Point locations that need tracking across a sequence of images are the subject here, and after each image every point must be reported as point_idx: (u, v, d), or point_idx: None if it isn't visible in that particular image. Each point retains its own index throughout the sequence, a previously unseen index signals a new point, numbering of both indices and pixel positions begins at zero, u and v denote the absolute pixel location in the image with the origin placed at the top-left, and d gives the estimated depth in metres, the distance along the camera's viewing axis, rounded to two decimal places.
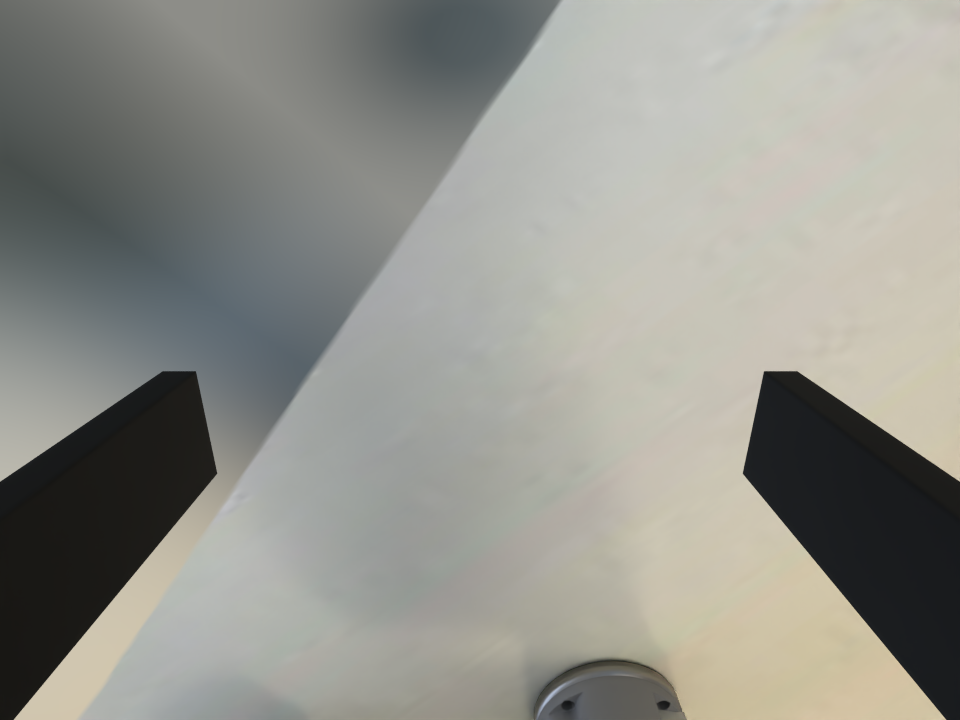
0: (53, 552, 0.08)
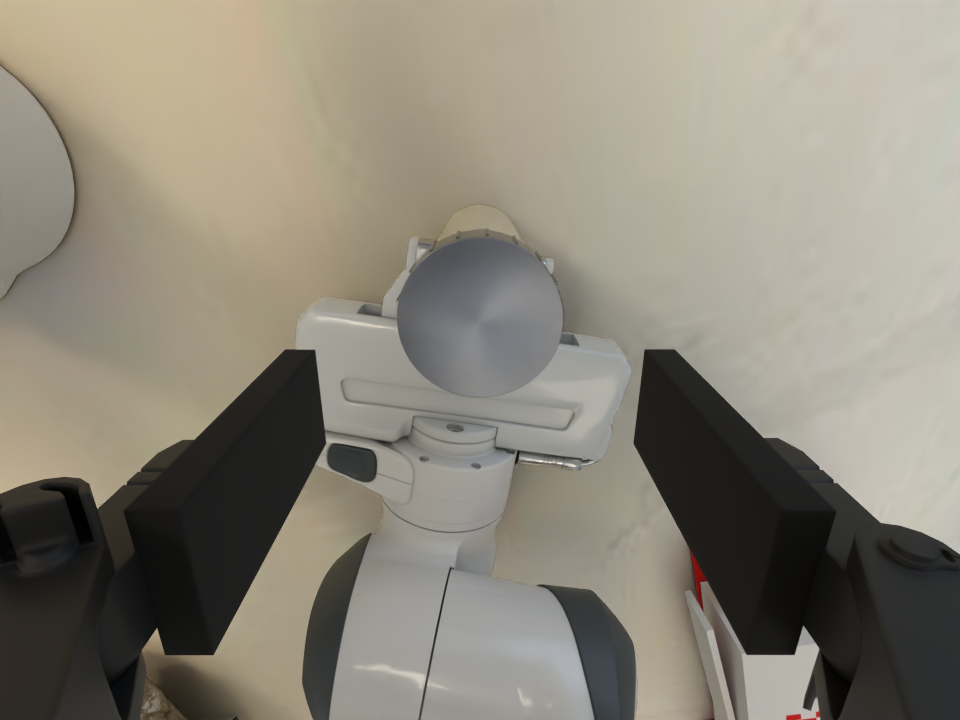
0: (244, 495, 0.09)
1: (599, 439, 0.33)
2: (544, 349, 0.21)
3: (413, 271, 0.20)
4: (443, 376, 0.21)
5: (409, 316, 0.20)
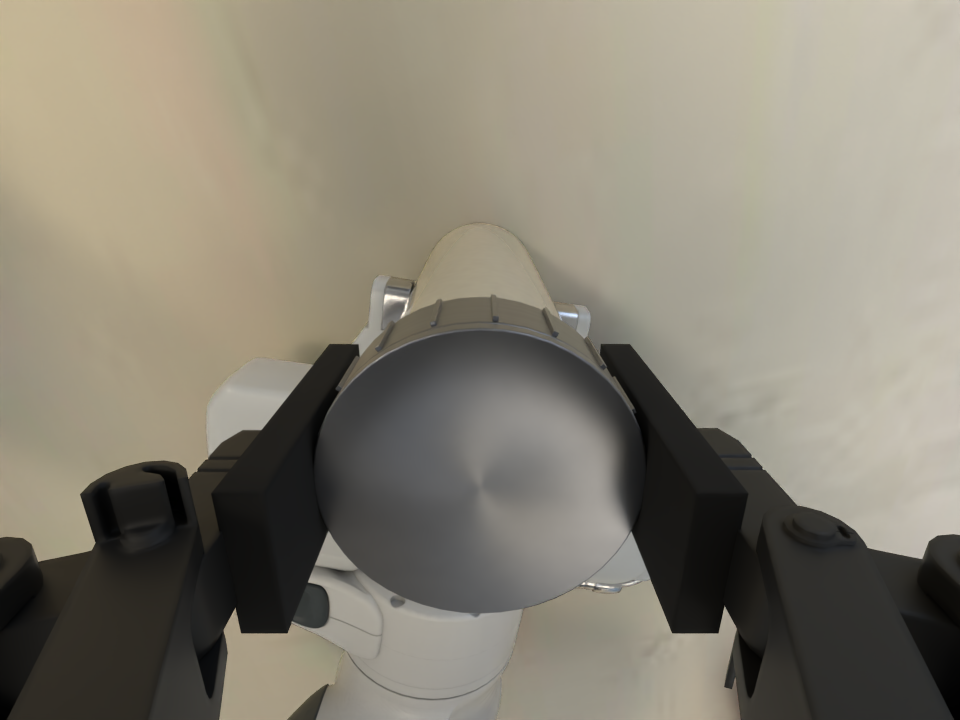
0: (309, 481, 0.10)
1: None
2: (605, 534, 0.10)
3: (342, 394, 0.09)
4: (409, 580, 0.11)
5: (338, 477, 0.10)
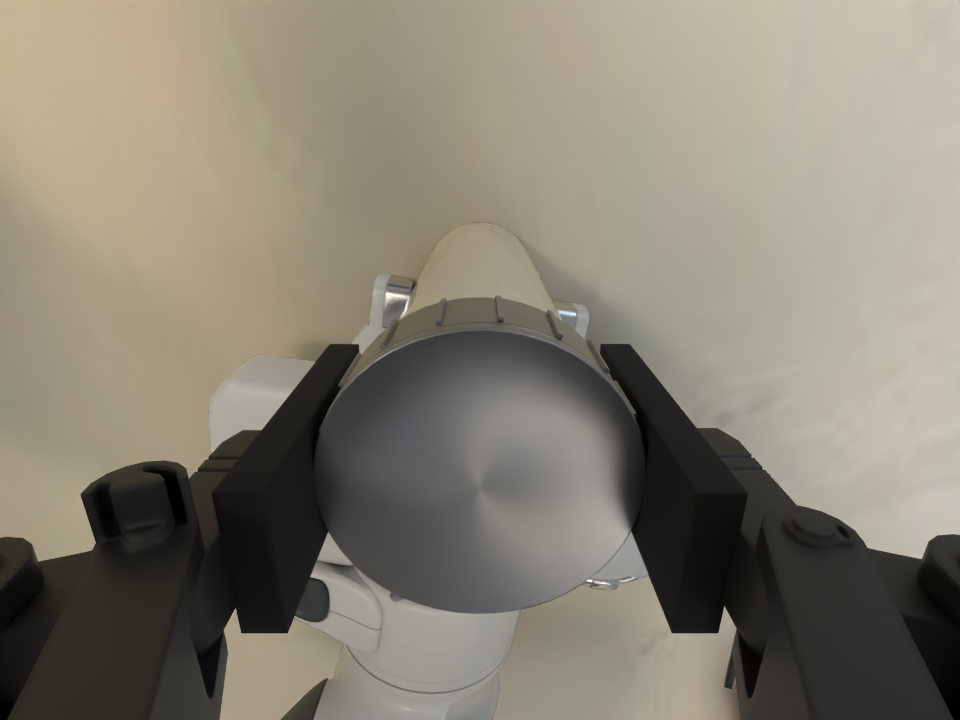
0: (309, 481, 0.10)
1: None
2: (467, 353, 0.09)
3: (454, 609, 0.11)
4: (618, 498, 0.10)
5: (531, 589, 0.11)
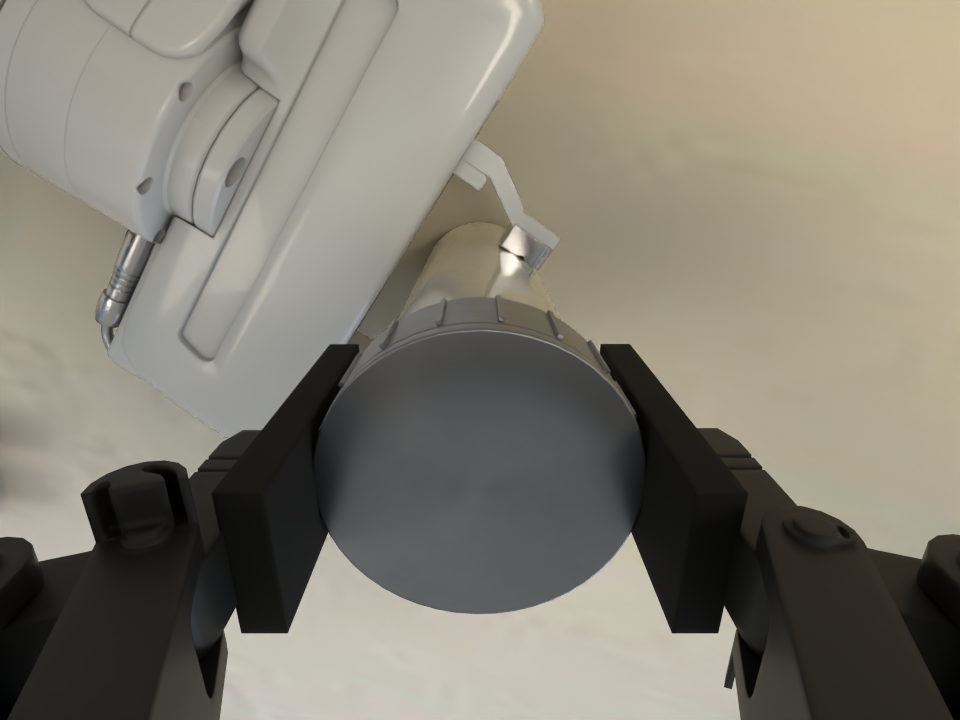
0: (309, 481, 0.10)
1: (148, 379, 0.21)
2: (468, 353, 0.09)
3: (453, 609, 0.11)
4: (618, 498, 0.10)
5: (531, 589, 0.11)
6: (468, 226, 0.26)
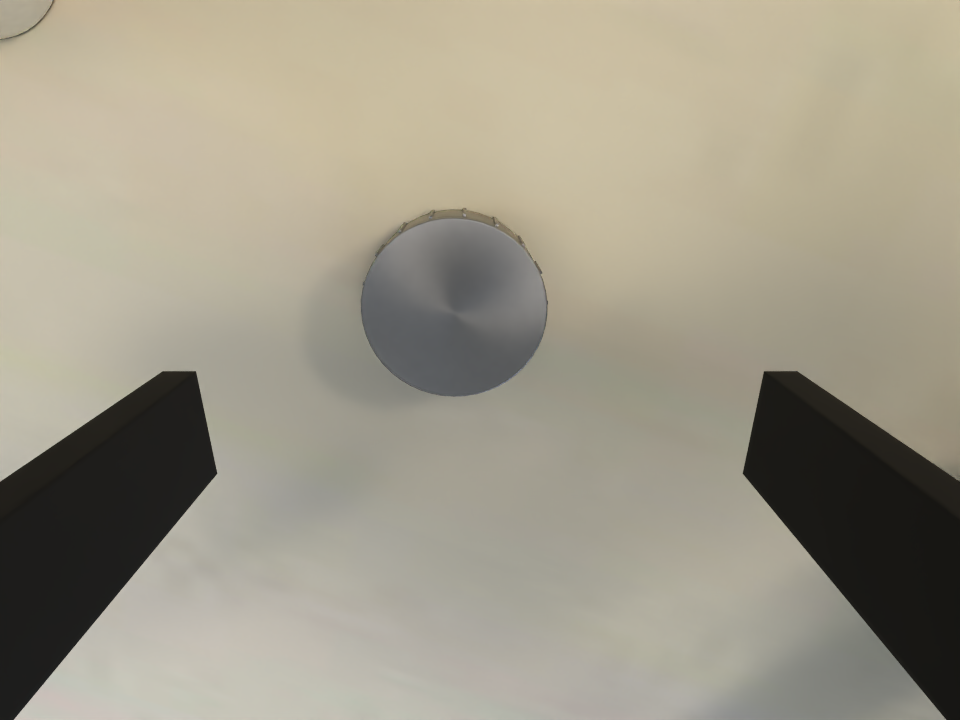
0: (53, 552, 0.08)
1: None
2: (446, 232, 0.17)
3: (441, 394, 0.19)
4: (532, 318, 0.18)
5: (485, 378, 0.19)
6: None
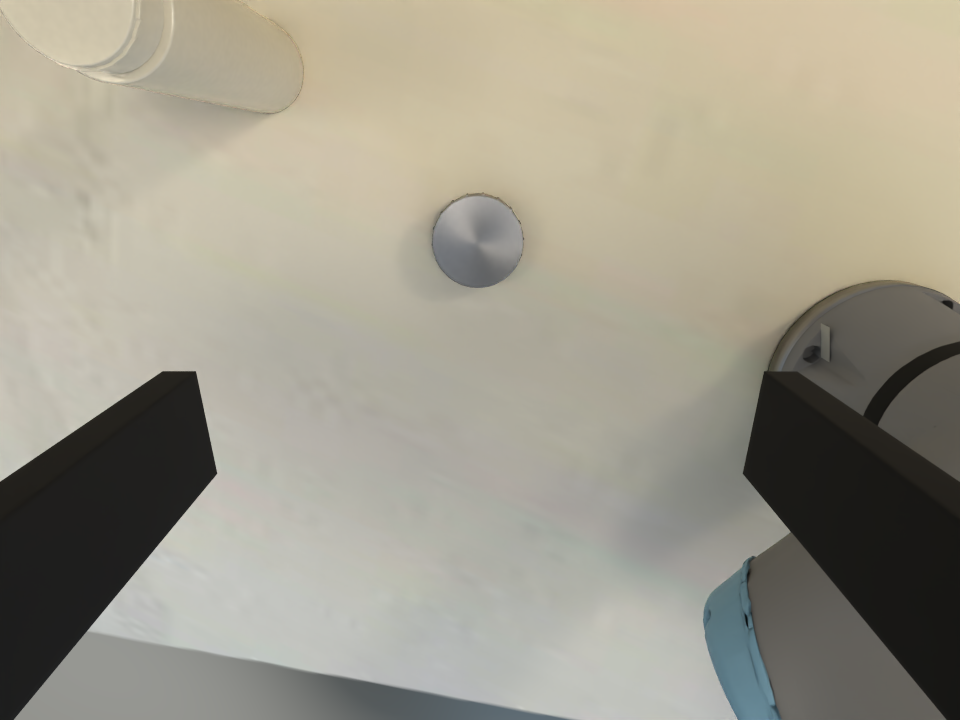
0: (53, 552, 0.08)
1: None
2: (474, 202, 0.36)
3: (470, 286, 0.38)
4: (515, 246, 0.37)
5: (492, 278, 0.38)
6: None
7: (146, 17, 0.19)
